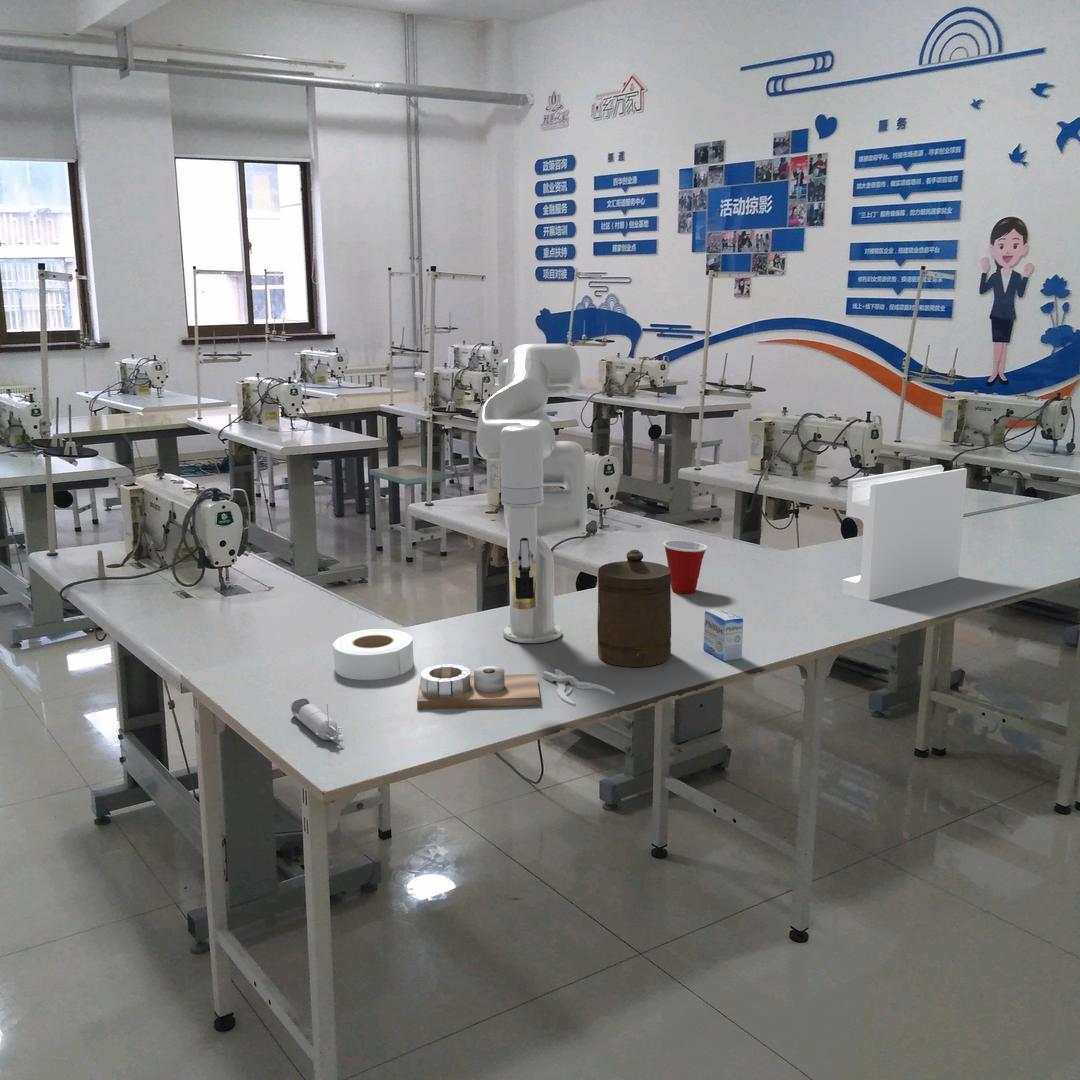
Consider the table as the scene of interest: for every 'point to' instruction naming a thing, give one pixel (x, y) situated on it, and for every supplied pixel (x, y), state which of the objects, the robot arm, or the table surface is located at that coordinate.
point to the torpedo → (316, 719)
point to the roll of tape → (373, 654)
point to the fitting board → (489, 691)
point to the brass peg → (515, 602)
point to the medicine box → (723, 634)
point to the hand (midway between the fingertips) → (524, 593)
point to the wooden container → (634, 612)
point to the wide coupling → (445, 680)
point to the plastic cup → (684, 564)
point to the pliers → (564, 679)
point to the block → (907, 529)
